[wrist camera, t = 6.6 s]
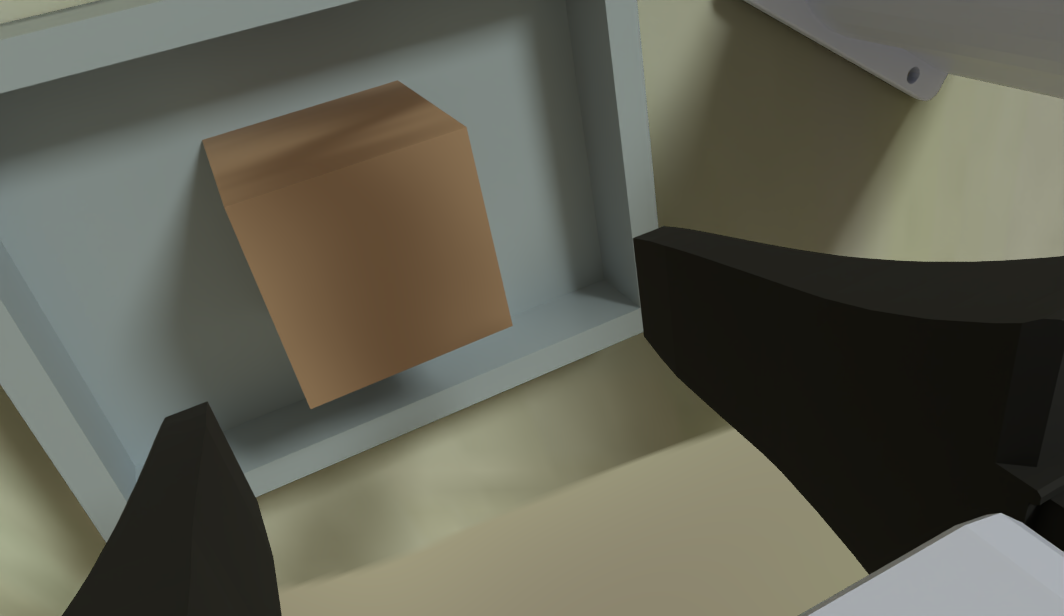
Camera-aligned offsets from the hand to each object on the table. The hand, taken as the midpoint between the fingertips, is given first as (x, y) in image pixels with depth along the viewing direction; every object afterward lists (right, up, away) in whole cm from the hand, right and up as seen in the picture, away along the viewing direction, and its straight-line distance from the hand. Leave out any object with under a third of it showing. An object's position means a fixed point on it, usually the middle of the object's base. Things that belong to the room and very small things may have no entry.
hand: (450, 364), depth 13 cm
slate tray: (-4, +4, +7) cm, 8 cm away
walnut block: (-3, +4, +6) cm, 8 cm away
